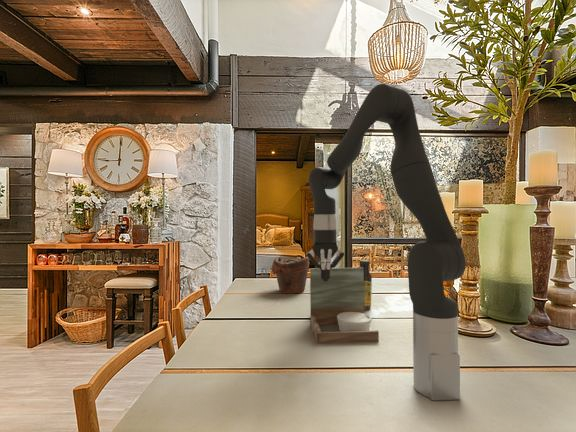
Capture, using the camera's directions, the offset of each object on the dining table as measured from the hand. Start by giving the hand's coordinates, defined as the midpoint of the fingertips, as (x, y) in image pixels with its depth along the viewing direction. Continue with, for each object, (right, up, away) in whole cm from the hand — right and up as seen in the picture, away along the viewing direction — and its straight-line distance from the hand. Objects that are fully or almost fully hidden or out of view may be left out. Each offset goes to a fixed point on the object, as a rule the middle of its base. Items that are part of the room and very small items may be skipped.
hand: (325, 280), depth 111 cm
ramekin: (+10, -18, +1) cm, 20 cm away
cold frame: (+6, -17, 0) cm, 18 cm away
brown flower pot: (-11, -17, +61) cm, 64 cm away
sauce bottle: (+19, -17, +28) cm, 38 cm away
